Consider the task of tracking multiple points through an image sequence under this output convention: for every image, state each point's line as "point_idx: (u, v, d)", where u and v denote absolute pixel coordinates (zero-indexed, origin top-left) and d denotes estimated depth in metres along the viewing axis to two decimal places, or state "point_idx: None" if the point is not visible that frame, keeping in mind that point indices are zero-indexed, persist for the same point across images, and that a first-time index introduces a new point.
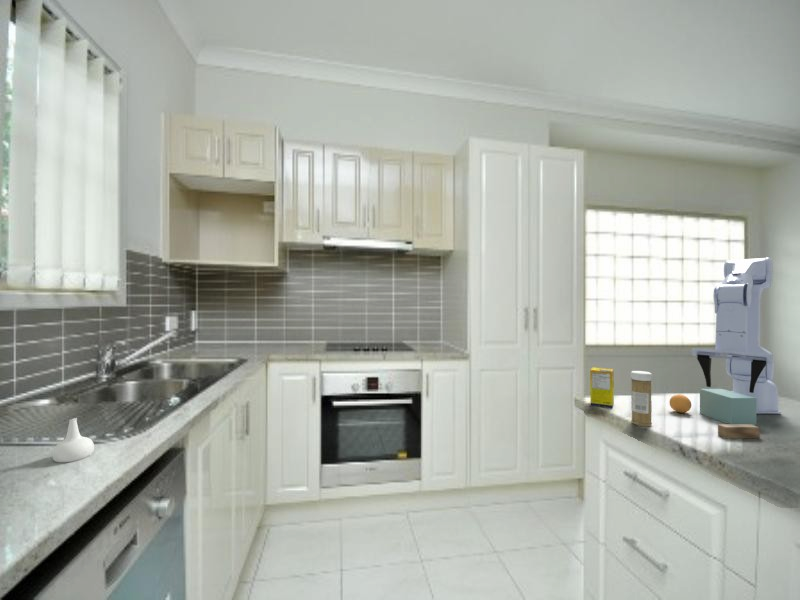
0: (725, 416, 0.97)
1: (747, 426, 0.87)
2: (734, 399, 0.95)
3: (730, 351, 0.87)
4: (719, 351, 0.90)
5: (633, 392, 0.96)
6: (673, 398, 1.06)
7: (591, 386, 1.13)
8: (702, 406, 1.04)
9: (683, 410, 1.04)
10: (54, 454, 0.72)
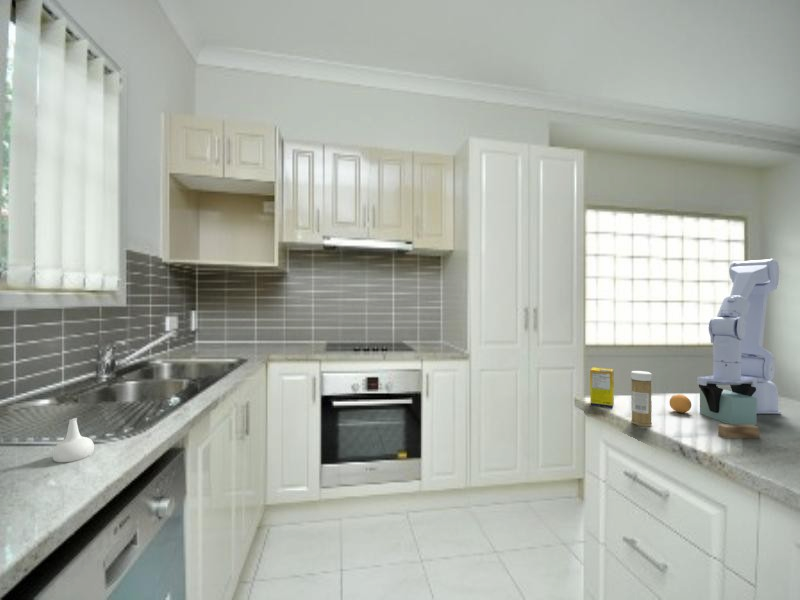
0: (725, 416, 0.97)
1: (747, 426, 0.87)
2: (734, 399, 0.95)
3: (741, 381, 0.96)
4: (728, 381, 0.98)
5: (633, 392, 0.96)
6: (673, 398, 1.06)
7: (591, 386, 1.13)
8: (702, 406, 1.04)
9: (683, 410, 1.04)
10: (54, 454, 0.72)
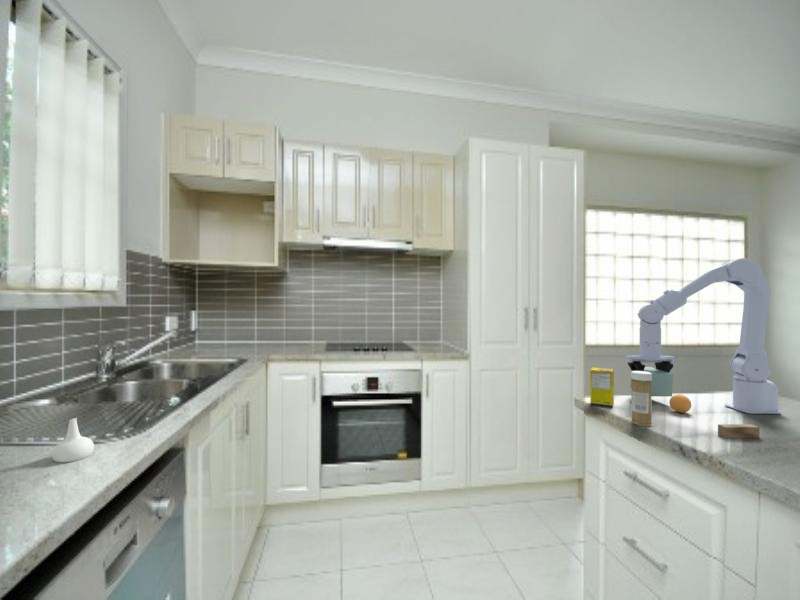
0: None
1: (747, 426, 0.87)
2: (654, 375, 1.13)
3: (659, 359, 1.15)
4: (649, 358, 1.16)
5: (633, 392, 0.96)
6: (673, 398, 1.06)
7: (591, 386, 1.13)
8: None
9: (683, 410, 1.04)
10: (54, 454, 0.72)
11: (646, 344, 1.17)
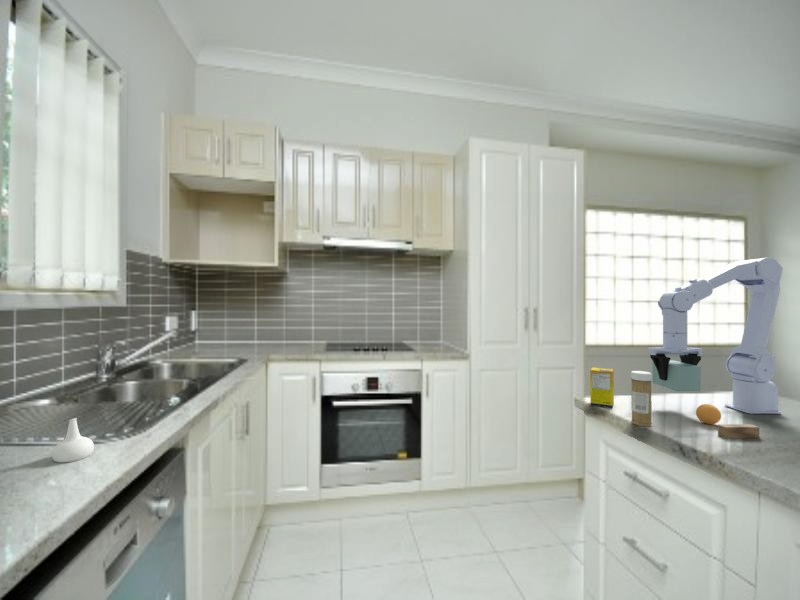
0: (672, 383, 1.05)
1: (747, 426, 0.87)
2: (680, 367, 1.03)
3: (686, 350, 1.04)
4: (675, 350, 1.06)
5: (633, 392, 0.96)
6: (697, 416, 0.98)
7: (591, 386, 1.13)
8: (654, 376, 1.12)
9: (705, 404, 0.97)
10: (54, 454, 0.72)
11: (671, 335, 1.07)
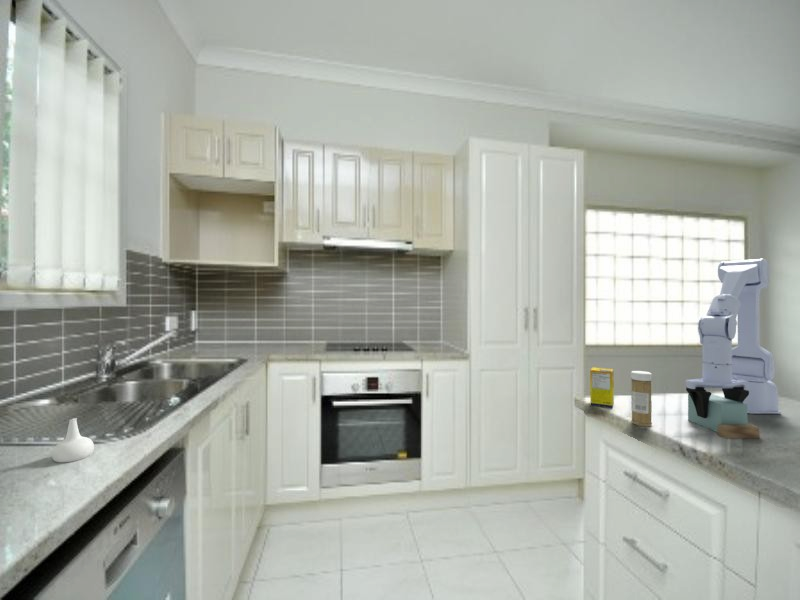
0: (714, 423, 0.91)
1: (747, 426, 0.87)
2: (723, 405, 0.89)
3: (731, 385, 0.90)
4: (718, 384, 0.92)
5: (633, 392, 0.96)
6: None
7: (591, 386, 1.13)
8: (690, 412, 0.98)
9: None
10: (54, 454, 0.72)
11: (713, 366, 0.93)
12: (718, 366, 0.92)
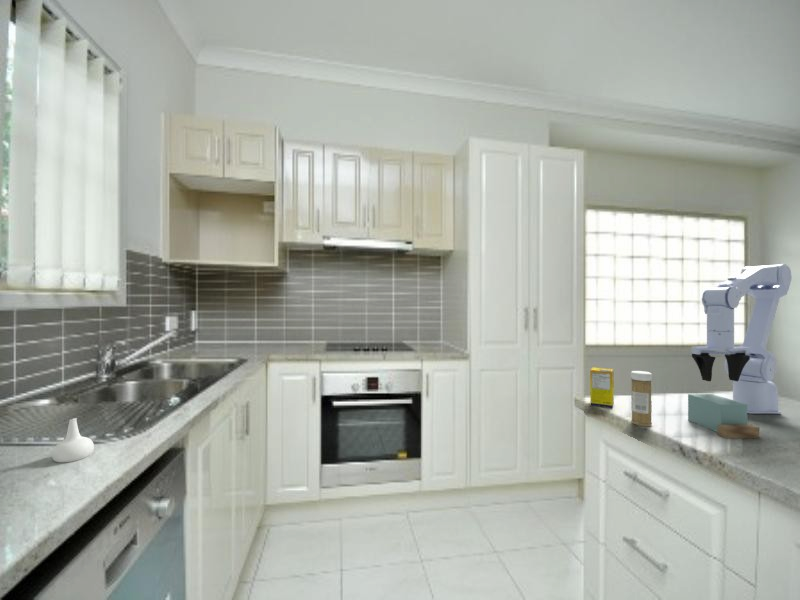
0: (714, 423, 0.91)
1: (747, 426, 0.87)
2: (723, 405, 0.89)
3: (734, 349, 0.98)
4: (721, 349, 1.00)
5: (633, 392, 0.96)
6: None
7: (591, 386, 1.13)
8: (690, 412, 0.98)
9: None
10: (54, 454, 0.72)
11: (717, 333, 1.01)
12: (721, 333, 1.00)
